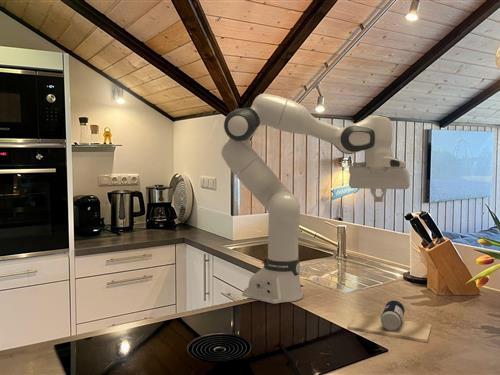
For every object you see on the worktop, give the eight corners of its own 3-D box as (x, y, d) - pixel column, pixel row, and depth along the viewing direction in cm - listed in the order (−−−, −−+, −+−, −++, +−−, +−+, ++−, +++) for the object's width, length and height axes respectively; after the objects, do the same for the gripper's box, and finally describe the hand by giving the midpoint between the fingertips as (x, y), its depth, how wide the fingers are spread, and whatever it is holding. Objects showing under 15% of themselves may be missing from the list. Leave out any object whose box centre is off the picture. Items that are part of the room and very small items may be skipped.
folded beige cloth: (347, 329, 128) (347, 326, 128) (357, 315, 138) (357, 313, 138) (427, 342, 117) (427, 339, 117) (431, 327, 128) (431, 324, 128)
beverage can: (389, 296, 134) (384, 308, 124) (407, 305, 132) (404, 318, 121) (382, 312, 136) (377, 325, 125) (400, 320, 134) (396, 335, 123)
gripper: (346, 162, 151) (346, 201, 152) (408, 162, 142) (407, 203, 143) (351, 162, 157) (351, 200, 158) (410, 161, 148) (410, 201, 149)
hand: (378, 201), depth 150 cm, fingers closed
